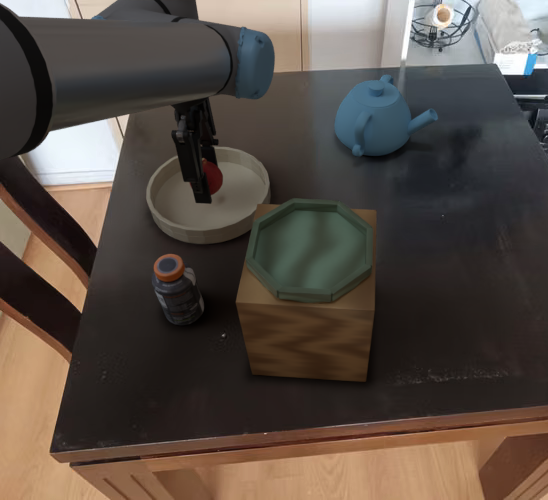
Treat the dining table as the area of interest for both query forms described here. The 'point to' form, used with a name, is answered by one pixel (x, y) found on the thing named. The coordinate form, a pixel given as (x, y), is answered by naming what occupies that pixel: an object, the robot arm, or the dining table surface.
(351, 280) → the stand
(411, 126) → the teapot
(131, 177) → the dining table surface
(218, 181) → the onion
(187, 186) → the cream bowl
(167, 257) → the pill bottle
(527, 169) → the dining table surface
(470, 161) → the dining table surface
